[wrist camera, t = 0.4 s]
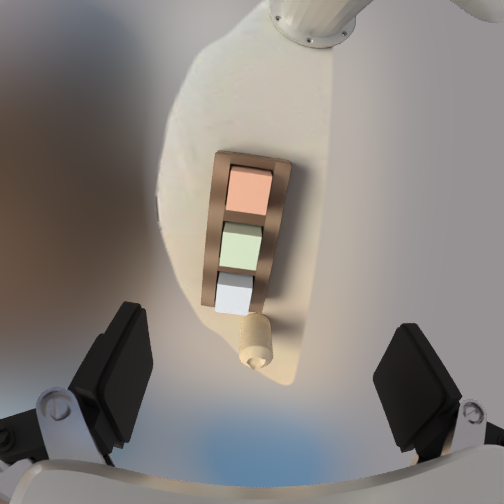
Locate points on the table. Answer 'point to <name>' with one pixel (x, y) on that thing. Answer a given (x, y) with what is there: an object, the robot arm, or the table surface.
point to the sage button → (240, 245)
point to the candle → (256, 341)
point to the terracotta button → (249, 190)
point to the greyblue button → (233, 293)
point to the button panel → (267, 222)
